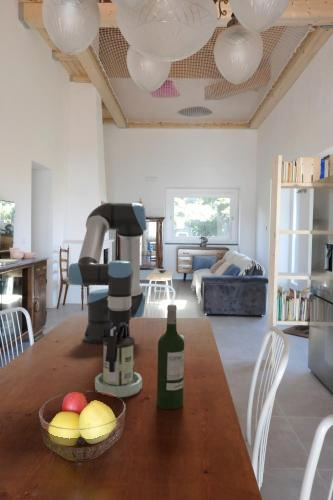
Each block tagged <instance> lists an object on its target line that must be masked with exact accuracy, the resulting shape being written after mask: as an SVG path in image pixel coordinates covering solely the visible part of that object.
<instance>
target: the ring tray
mask: <svg viewBox="0 0 333 500" xmlns="http://www.w3.org/2000/svg"><path fill="white" fill-rule="evenodd" d="M94 388H95V391H96V390H97V391H104V392H108V393H112V394H114V395H117V396H119V397H118V398H124V397H125V398H126V397H131V396H133V395H136V394H138V393H140V391H141V390H142V389H143V378H142V375H141V374H140V373H138V372H136V371H134V383H133V384H131V385H128V386H120V387H114V386H106V385H104V383H103V372H101V373H99V374H98V375H96V377H94ZM140 389H141V390H140Z"/></svg>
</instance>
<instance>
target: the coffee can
mask: <svg viewBox="0 0 333 500" xmlns="http://www.w3.org/2000/svg"><path fill="white" fill-rule="evenodd" d="M135 341H136V340H135V338H134V337H132V336H130V337H129V336H127V337H126V338H122V340H121V341H120V343H119V344H116V348H117V359H116V361H117V382H111V381H108V368H109V362H107V361H105V359H106V352H107V343H108V337H107V338H105V339H104V340H103V343H102V344H103V351H102V352H103V357H102V358H103V365H102V366H103V370H102V371H103V372H102V373H103V383H104V385H106V386H114V387H120V386H128V385H131V384H133V383H134V372H135Z"/></svg>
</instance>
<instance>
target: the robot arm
mask: <svg viewBox="0 0 333 500" xmlns="http://www.w3.org/2000/svg"><path fill="white" fill-rule="evenodd" d="M85 227H86V232H85V235H84V239H83V242H82V246H81V249H80V253H79V256H78V257H79V258H78V261H77V262H75V263H74V262H73V263H71V264H69V266H68V274H67V275H68V281H69V282H68V283H70V284H71V285H73V286H74V285H75V286H78V285H79V286H107V287H108V288H102V289H95V290H92V291H91V292H89V293H88V299H87V300H88V301H87V326H86V328H85V331H84V334H83V340H84V342H86V343H89V344H99V345H100V344H104V343H103V340H104V339H105V338H107V337H108V343H107V352H106V359H105V361H107V362H109V368H108V381H111V382H117V361H116V359H117V348H116V344H119V343H120V341H121V340H122V338H126V337H127V336H129V337H131V332H130V331H131V329H130V320H131V319H134V318H141V317H143V315H144V313H145V306H146V305H145V304H146V298H147V294H146V293H147V292H144V289H143V287H141V284H140V281H141V279H140V278H141V277H140V276H141V275H140V273H141V271H140V270H141V266H140V265H141V258H140V257H141V255H140V254H141V251H140V250H141V238H142V236H143V235H144V232H145V231H147V229H148V225H147V216H146V210H145V206H144V205H143V204H142V203H137V202H136V203H135V202H105V203H103V204H101V205H98V206H96V207H95V209H93V210H92V211H91V212H90V213H89V214H88V216H87V218H86V221H85ZM109 230H112V231H116V235H117V236H118V237H119V238H120V239H119V241H120V242H119V243H120V260H111V261H109V262H108V263H100V261H101V257H102V253H103V252H102V251H103V248H104V247H103V246H104V242H105V238H106V233H108V231H109Z"/></svg>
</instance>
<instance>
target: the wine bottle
mask: <svg viewBox="0 0 333 500" xmlns="http://www.w3.org/2000/svg"><path fill="white" fill-rule="evenodd" d="M166 307H167V308H166V310H167V313H166V316H167V317H166V331H165V333H163V334H162V335H161V336H160V337H159V339H158V341H157V342H158V343H157V372H156V373H157V376H156V379H157V383H156V384H157V385H156V387H157V388H156V403H157V405H158V407H160V408H161V409H165V410H177V409H180V408H181V407H182V406H183V403H184V382H185V381H184V380H185V379H184V377H185V376H184V375H185V374H184V373H185V372H184V371H185V370H184V369H185V368H184V367H185V340H184V337H183V338H182V337H181V336H180V335H179V333H178V330H177V305H176V304H173V303H172V304H171V303H170V304H168V305H167V306H166Z"/></svg>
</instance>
